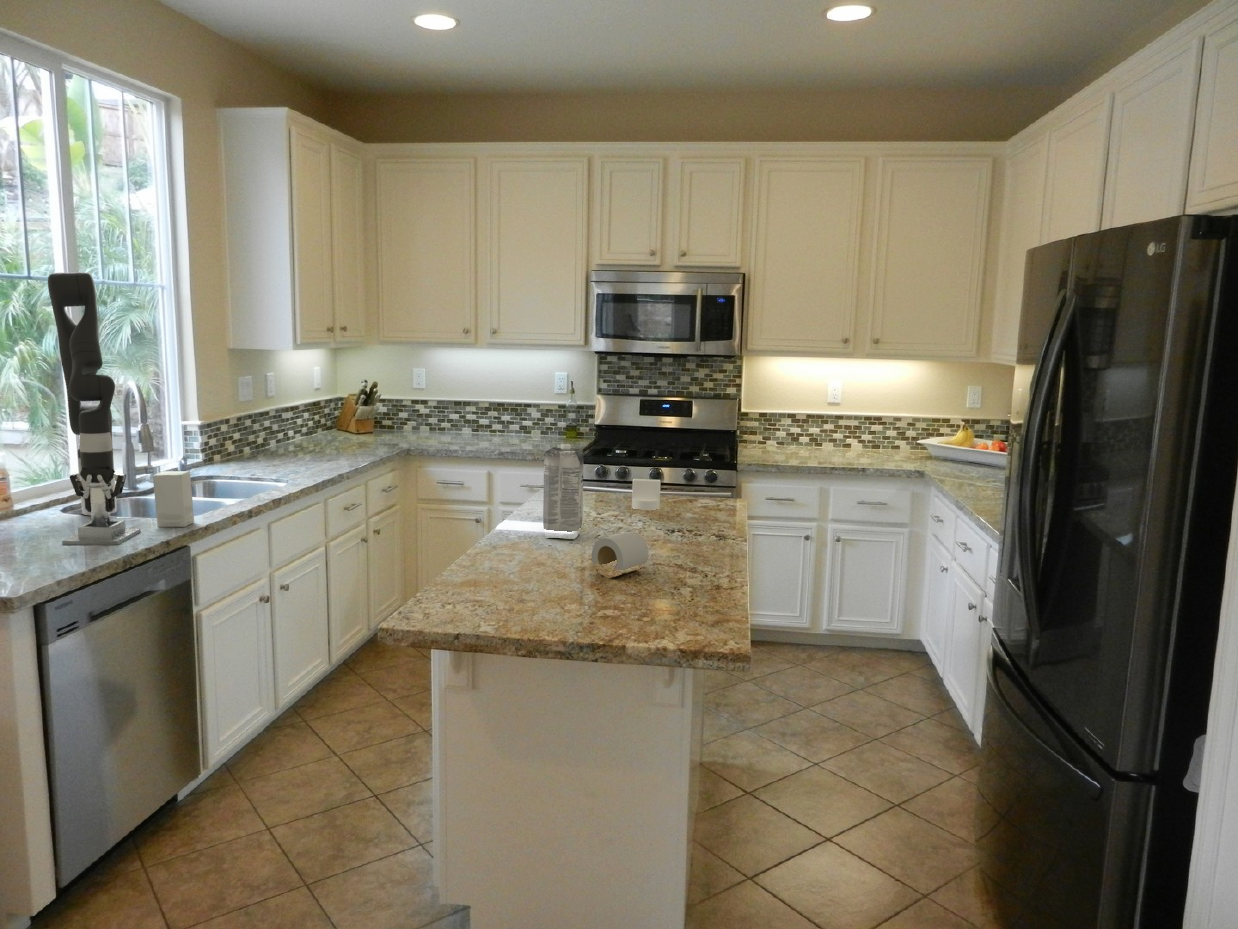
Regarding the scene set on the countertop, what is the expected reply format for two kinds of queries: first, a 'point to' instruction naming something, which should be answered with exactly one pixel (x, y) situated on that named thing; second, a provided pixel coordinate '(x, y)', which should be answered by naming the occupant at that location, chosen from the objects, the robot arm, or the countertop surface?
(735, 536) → the countertop surface
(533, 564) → the countertop surface
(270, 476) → the countertop surface
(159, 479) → the skincare box
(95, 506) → the pale grey upright block
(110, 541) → the duct plate
